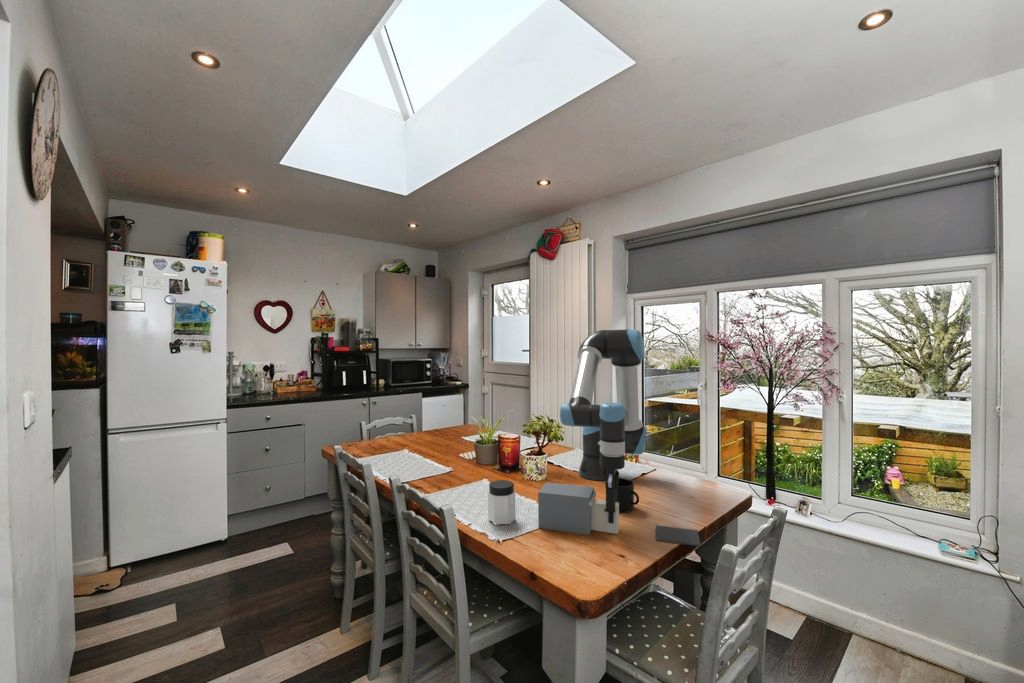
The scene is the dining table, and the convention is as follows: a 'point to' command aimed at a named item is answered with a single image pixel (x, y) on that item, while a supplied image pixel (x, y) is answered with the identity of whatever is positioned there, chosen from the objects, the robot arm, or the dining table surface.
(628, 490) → the mug
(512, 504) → the jar
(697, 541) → the mat
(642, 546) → the dining table surface
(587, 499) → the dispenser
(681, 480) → the dining table surface
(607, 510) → the robot arm
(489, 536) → the dining table surface
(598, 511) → the cream upright slab
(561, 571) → the dining table surface
